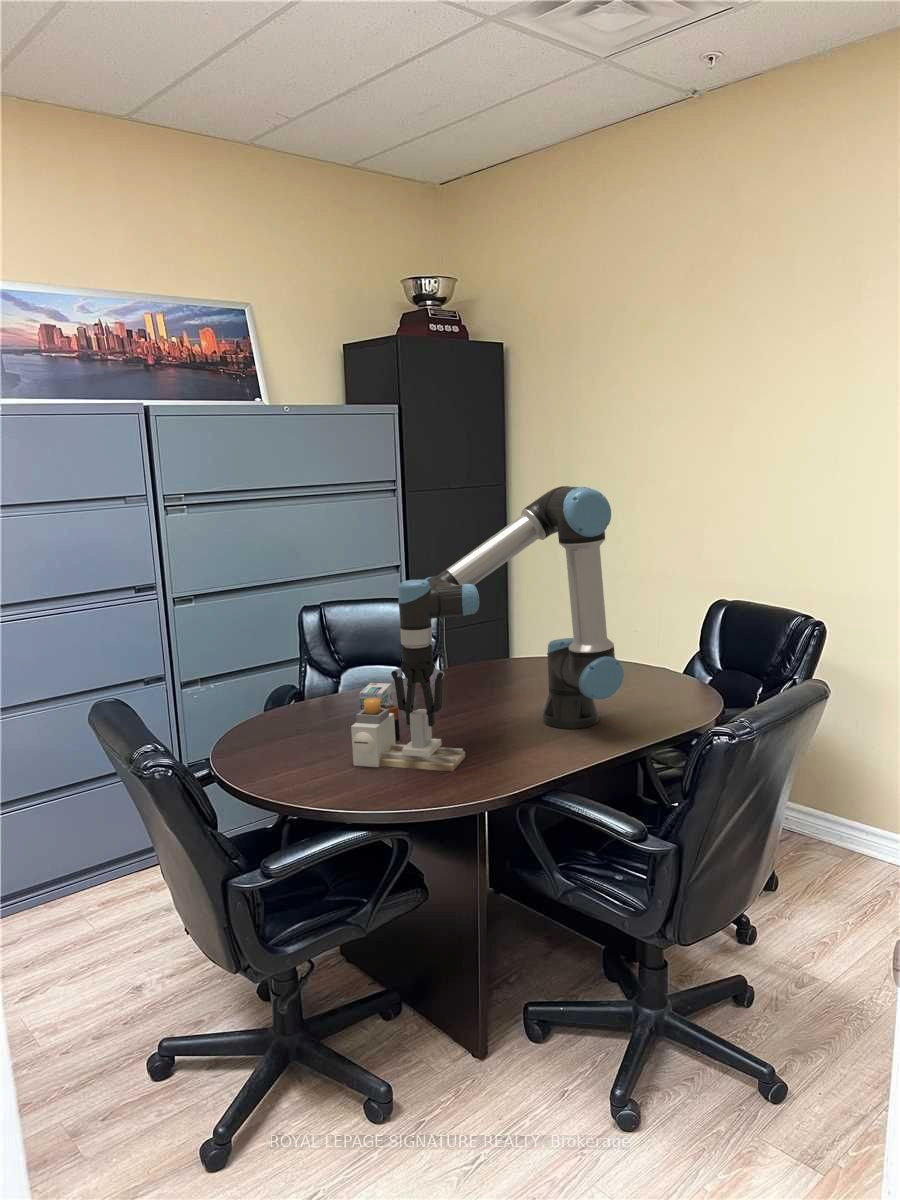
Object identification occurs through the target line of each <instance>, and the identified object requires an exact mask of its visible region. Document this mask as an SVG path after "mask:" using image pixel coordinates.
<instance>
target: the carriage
mask: <svg viewBox="0 0 900 1200" xmlns="http://www.w3.org/2000/svg"><path fill="white" fill-rule="evenodd" d="M414 711H415V712H414V713H413V714H412V715H411V716H410V721H411V729H410V740H411V741H409V742H408V743H407V744H405V745H406V746H405V747H404V748H403V749H402V755H408V756H422V757H430V756H431V755H432V754H433V753H434V752H435V751H436V750H437V749H438V748H439V747H442V738H433V736H432V737H431V738H430V739H429V740H425V719H424V714H425V713H426V712H427V709H426V708H418V709H417V710H414Z"/></svg>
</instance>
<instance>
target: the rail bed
mask: <svg viewBox="0 0 900 1200" xmlns="http://www.w3.org/2000/svg"><path fill="white" fill-rule="evenodd" d="M406 745H407V744H401V743H400V744H399V743H398V744H393V745H391V751H390V752H383V753H382V759H381V760H380V763H381V765H380V767H389V768H402V769H404V768H405V769H414V770H415V769H416V770H417V769H418V770H427V771H441V772H443V771H444V772H454V771H455V770H456V768H457V767H458V766H459V765H460V764H461V762H463V760H464V759H465V758H466V752H465V751H464V748H460V747H459V748H458V747H457V748H456V747H455V748H454V747H442V746H440V747H439V748H438V749H437V750H436V751H435V752H434V753H433V754H432V755H431V756H430V757H422V756H408V755H402V749H403V748H404V747H405V746H406Z"/></svg>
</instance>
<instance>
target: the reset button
mask: <svg viewBox="0 0 900 1200" xmlns="http://www.w3.org/2000/svg"><path fill="white" fill-rule="evenodd" d="M364 712H365V714H377V713H380V712H381V709H380V699H378V698H368V699H365V700H364Z"/></svg>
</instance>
